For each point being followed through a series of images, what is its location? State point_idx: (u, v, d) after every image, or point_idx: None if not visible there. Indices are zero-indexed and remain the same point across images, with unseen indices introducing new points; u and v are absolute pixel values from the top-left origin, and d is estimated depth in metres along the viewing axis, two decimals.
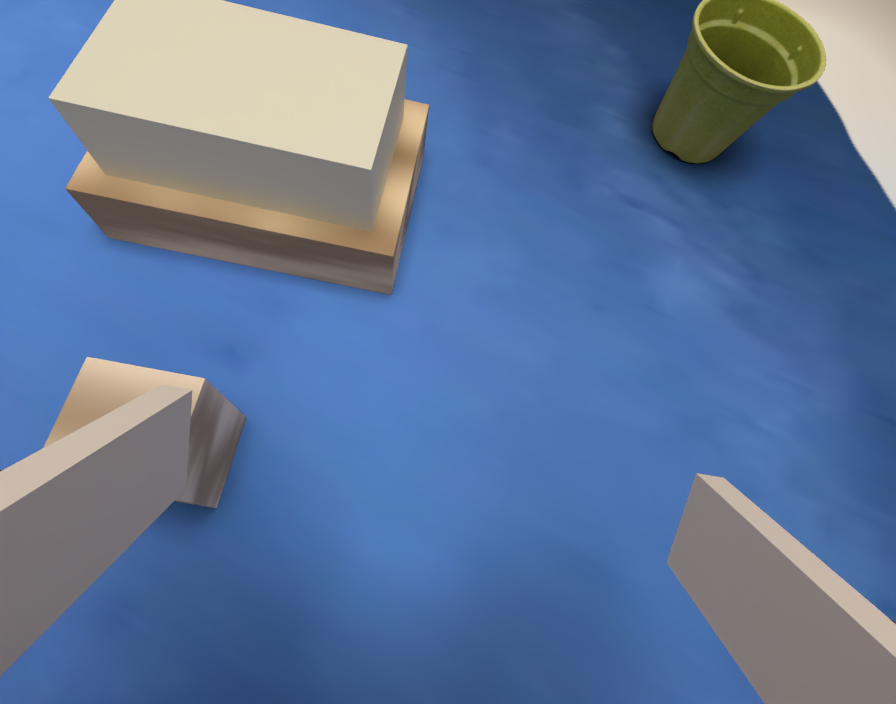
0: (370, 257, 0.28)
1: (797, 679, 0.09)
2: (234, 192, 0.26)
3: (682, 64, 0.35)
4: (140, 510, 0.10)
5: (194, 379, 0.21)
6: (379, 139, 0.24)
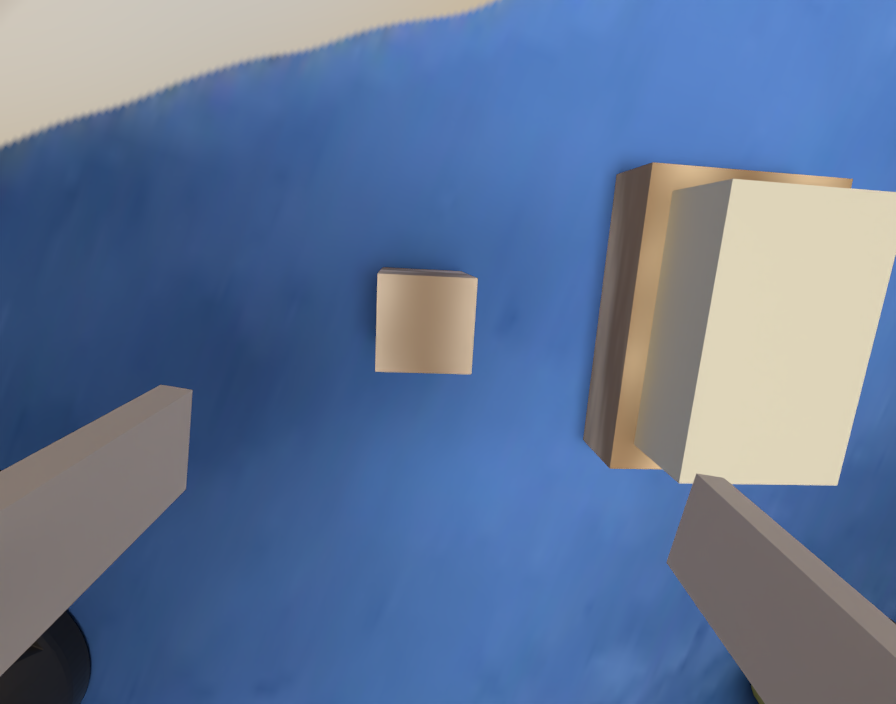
0: (608, 444, 0.30)
1: (797, 679, 0.09)
2: (660, 325, 0.27)
3: None
4: (140, 510, 0.10)
5: (469, 366, 0.25)
6: None
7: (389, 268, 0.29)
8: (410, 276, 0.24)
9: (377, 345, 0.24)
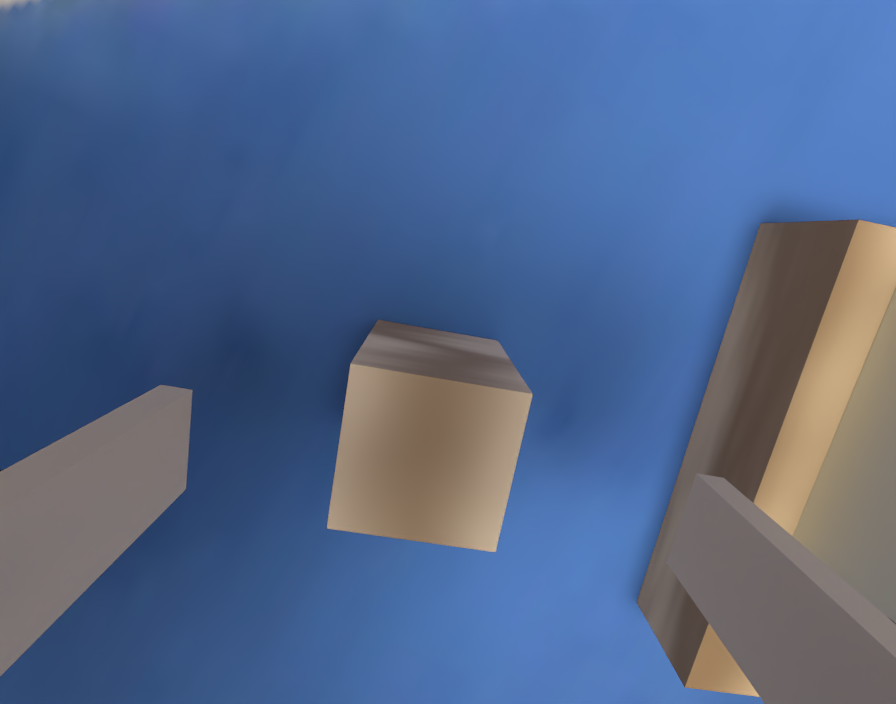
0: (686, 646, 0.19)
1: (797, 679, 0.09)
2: (836, 497, 0.16)
3: None
4: (140, 511, 0.10)
5: (494, 538, 0.14)
6: None
7: (386, 326, 0.18)
8: (410, 376, 0.13)
9: (335, 486, 0.14)
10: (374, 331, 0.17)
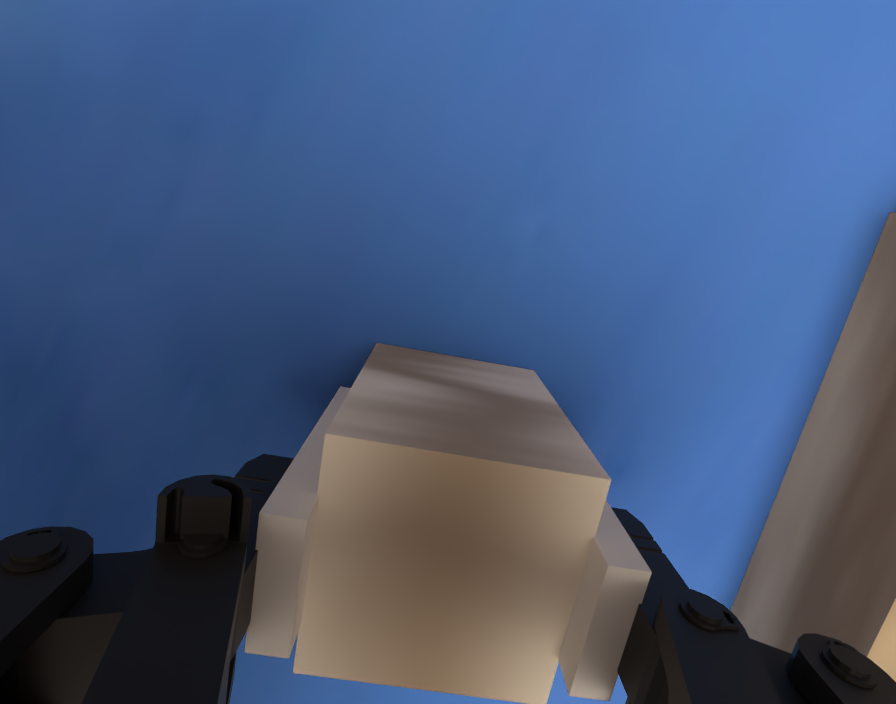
0: None
1: None
2: None
3: None
4: None
5: (544, 686, 0.09)
6: None
7: (386, 355, 0.14)
8: (419, 453, 0.08)
9: (305, 614, 0.09)
10: (370, 363, 0.13)
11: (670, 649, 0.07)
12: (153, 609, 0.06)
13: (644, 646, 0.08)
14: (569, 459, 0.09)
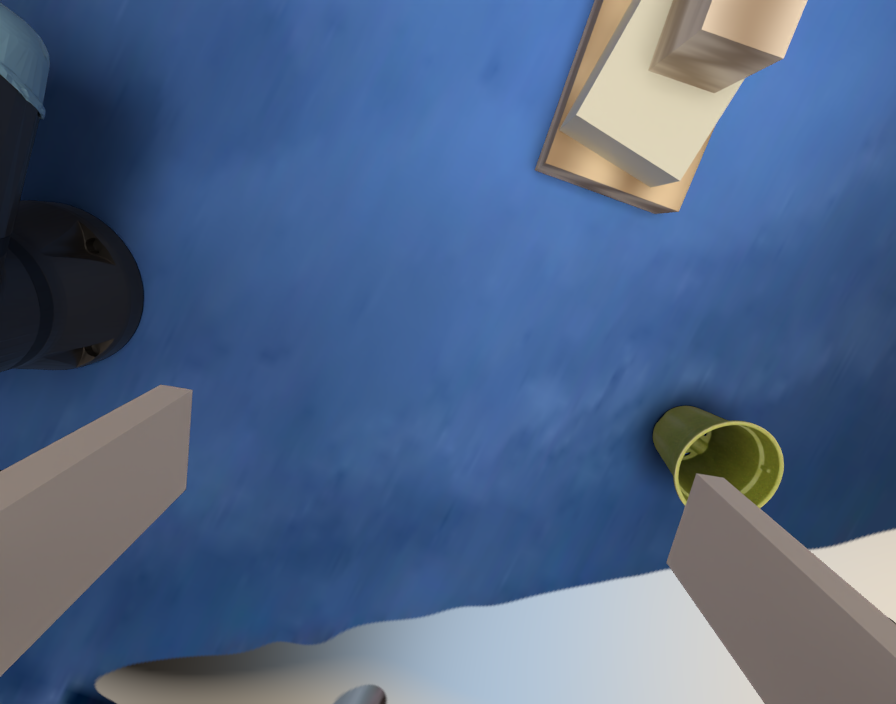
0: (549, 147, 0.40)
1: (797, 679, 0.09)
2: (615, 32, 0.36)
3: (723, 419, 0.44)
4: (140, 511, 0.10)
5: (784, 49, 0.27)
6: (599, 129, 0.34)
7: None
8: None
9: (713, 2, 0.26)
10: None
11: None
12: None
13: None
14: None
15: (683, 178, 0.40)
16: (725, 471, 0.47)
